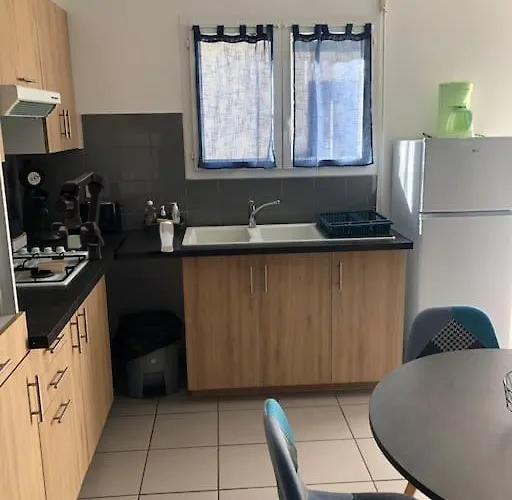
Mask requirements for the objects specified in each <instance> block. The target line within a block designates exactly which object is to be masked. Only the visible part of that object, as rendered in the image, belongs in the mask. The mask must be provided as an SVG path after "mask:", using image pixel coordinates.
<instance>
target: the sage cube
mask: <svg viewBox="0 0 512 500" xmlns="http://www.w3.org/2000/svg"><path fill="white" fill-rule="evenodd" d="M81 247H82V244H81V245H80V234H79V235H78V234H77V235H75V234H73V235H68V244H67V248H68V249H81Z"/></svg>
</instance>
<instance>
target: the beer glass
mask: <svg viewBox="0 0 512 500" xmlns="http://www.w3.org/2000/svg"><path fill="white" fill-rule="evenodd" d="M159 234H160V241H161V252H162V253H170V252H173V251H174V248H173V240H174V223H173V221H160V222H159Z"/></svg>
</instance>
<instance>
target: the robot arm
mask: <svg viewBox="0 0 512 500" xmlns="http://www.w3.org/2000/svg"><path fill="white" fill-rule="evenodd" d="M107 186H108V184H107V181H106V180H105V179H104V178H103V177H102V176H100V175H98V174H97V173H96V172H95V171H85V172H83V174H81V175H80V176H79V177H77V178H75V179H74V180H68V181H65V182H63V183H62V185H61V187H60V188H61V189H60V192H59V195H58V197H57V200H56V201H55V203H54V209H55V211H56V212H57V213H60V214H63V213H65V215H66V216H65V220H64V223H62V222H56V221H55V222H53V223H51V225H50V230H51V231H58V232H59V233H61V234H62V235H63V238H64V239H65V241H66V244H67V245H68V236H69V231H68V230H70V229H72V230H76V229H78V228H79V229H80V234H79V235H80V245H81V246H83V248H85V247H87V257H88V258H87V257H86V260H87V259H88V260H89V261H91V260H95V261H96V260H101V259H102V257H103V256H102V255H101V247H104V245H105V241H104V238H103V237H102V236H101V233H102V232H101V230H100V228H99V219H100V218H99V217H100V209H101V200H102V197H103V196H104V194H105V193H106V190H107ZM84 187H87V191H88V193H89V195H90V199H89V206H88V207H89V208H88V215H87V216H88V217H87V221H86V222H85V223H83V221H82V220H83V219H82V217H81V215H80V200H81V197H80V196H79V195H80V194H81V193H82V192H83V188H84Z"/></svg>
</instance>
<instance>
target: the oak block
mask: <svg viewBox="0 0 512 500" xmlns="http://www.w3.org/2000/svg"><path fill="white" fill-rule="evenodd" d="M66 261H67V260H66V259H49V260H48V259H47V260H41V261H40V262H39V264H37V269H38V272H39V271H40V270H50V271H51V272H53V273H56V274H57V273H59V274H60V273H61V274H62V273H64V271H65V270H66V268H65V267H67V264H66V263H67V262H66ZM53 273H52V274H53Z"/></svg>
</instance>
